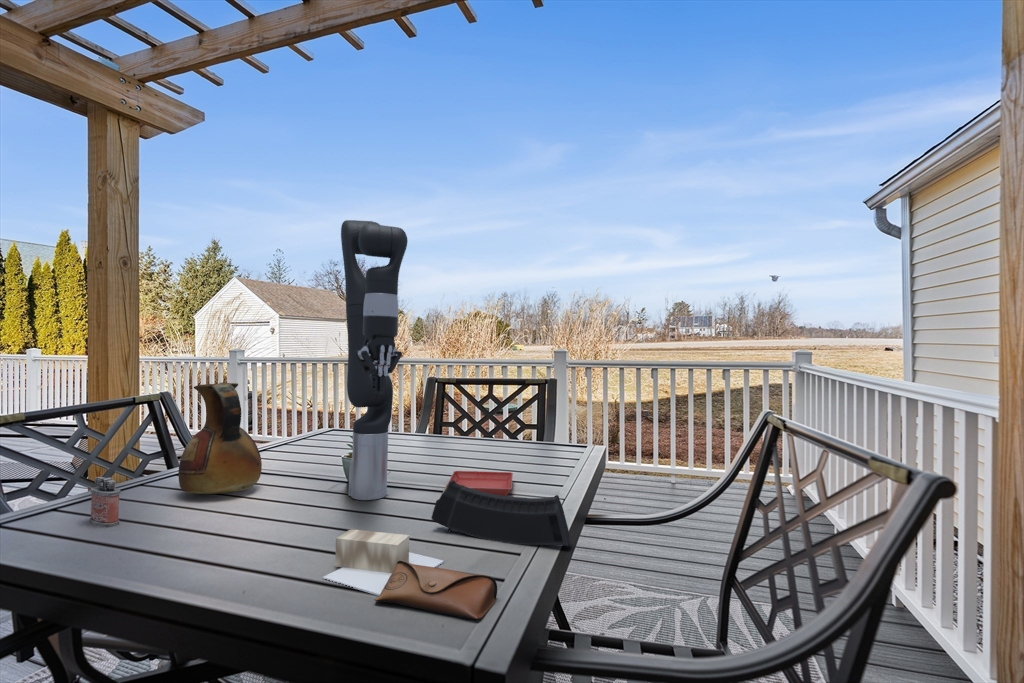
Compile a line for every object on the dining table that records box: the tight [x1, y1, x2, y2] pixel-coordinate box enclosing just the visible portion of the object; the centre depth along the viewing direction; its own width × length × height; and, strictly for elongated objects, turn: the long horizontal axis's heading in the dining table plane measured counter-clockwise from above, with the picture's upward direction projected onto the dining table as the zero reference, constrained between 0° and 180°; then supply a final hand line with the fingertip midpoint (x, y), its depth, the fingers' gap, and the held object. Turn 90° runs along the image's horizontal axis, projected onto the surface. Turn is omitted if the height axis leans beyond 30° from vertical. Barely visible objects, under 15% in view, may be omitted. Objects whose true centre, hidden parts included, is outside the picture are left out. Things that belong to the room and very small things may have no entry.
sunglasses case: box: [374, 561, 498, 620], centre depth 81 cm, size 18×7×7 cm
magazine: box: [430, 480, 572, 547], centre depth 108 cm, size 17×3×30 cm
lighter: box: [89, 476, 121, 529], centre depth 113 cm, size 8×3×10 cm, turn 65°
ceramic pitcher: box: [177, 381, 263, 495], centre depth 139 cm, size 20×20×30 cm
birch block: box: [334, 529, 410, 573], centre depth 94 cm, size 5×5×12 cm
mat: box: [322, 551, 445, 597], centre depth 92 cm, size 14×16×1 cm
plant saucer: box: [446, 470, 514, 496], centre depth 148 cm, size 18×18×3 cm
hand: (378, 393), depth 114 cm, fingers closed
